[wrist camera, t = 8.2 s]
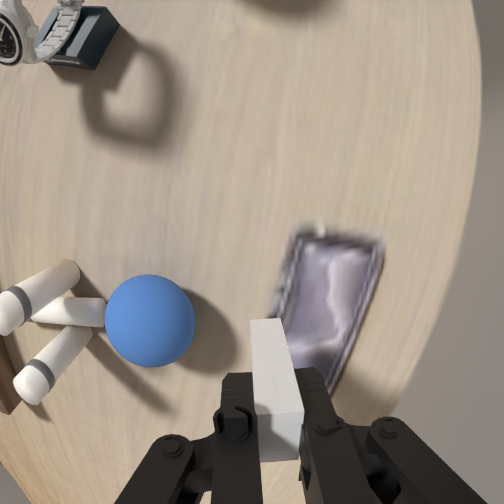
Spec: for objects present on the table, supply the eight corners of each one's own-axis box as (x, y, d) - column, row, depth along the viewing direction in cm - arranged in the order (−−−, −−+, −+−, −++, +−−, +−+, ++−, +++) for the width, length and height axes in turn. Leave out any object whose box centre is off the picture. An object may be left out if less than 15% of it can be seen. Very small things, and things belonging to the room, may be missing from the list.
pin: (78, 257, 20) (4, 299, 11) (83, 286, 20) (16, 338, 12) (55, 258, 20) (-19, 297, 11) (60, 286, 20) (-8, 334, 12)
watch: (37, 84, 16) (-52, 51, 6) (80, 5, 15) (18, -56, 4) (85, 93, 17) (-10, 46, 6) (131, 7, 16) (77, -73, 5)
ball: (89, 288, 14) (105, 272, 20) (109, 387, 15) (117, 349, 20) (198, 279, 16) (185, 265, 22) (208, 377, 16) (193, 342, 22)
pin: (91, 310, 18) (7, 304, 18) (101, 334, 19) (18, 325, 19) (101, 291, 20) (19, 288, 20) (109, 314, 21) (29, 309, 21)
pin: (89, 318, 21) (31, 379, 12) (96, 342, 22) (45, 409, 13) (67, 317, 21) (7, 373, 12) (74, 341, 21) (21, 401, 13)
